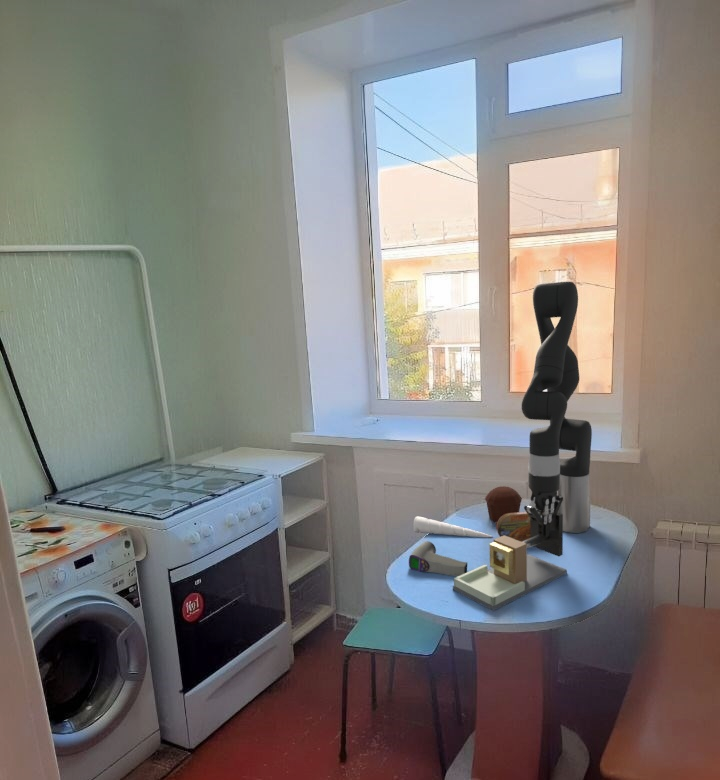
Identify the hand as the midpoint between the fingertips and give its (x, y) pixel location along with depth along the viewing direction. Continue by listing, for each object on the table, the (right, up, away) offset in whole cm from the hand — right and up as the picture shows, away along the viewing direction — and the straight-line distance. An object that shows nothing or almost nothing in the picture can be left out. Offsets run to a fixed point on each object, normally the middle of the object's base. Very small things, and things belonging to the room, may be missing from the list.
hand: (543, 536), depth 152 cm
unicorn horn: (-19, -7, +29) cm, 36 cm away
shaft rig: (-9, -11, -2) cm, 14 cm away
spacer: (-12, -7, -4) cm, 14 cm away
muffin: (-1, -4, +38) cm, 39 cm away
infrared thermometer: (-25, -10, +9) cm, 28 cm away
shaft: (-5, -6, 0) cm, 8 cm away
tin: (+1, -7, +22) cm, 23 cm away
